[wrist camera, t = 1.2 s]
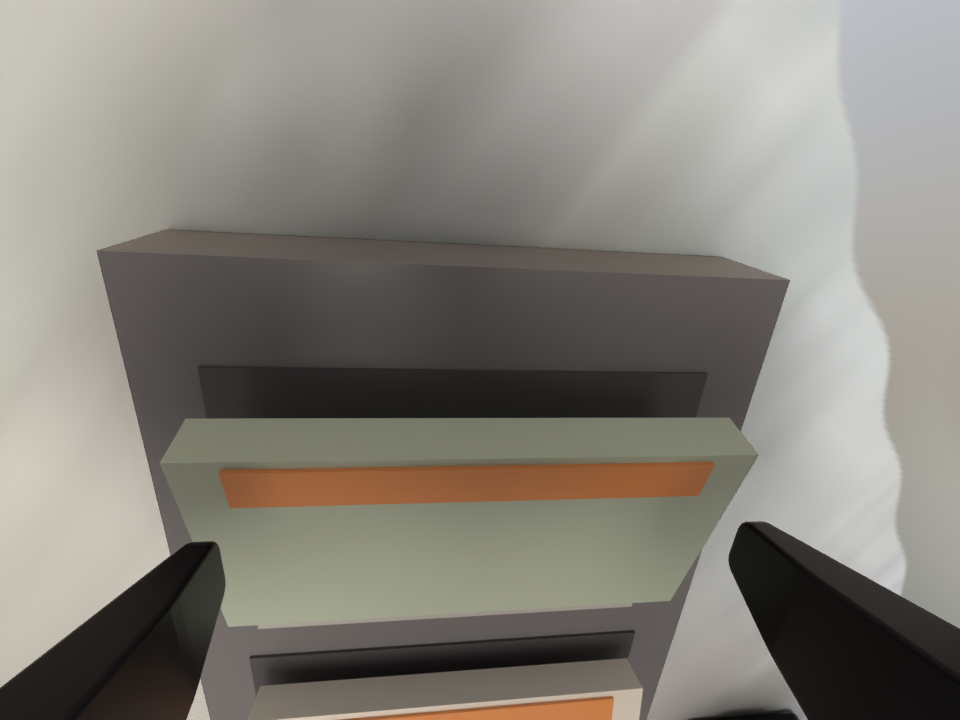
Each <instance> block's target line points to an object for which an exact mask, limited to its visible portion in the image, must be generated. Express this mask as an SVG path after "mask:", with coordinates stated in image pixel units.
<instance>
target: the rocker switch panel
mask: <svg viewBox="0 0 960 720" xmlns="http://www.w3.org/2000/svg"><path fill="white" fill-rule="evenodd" d="M97 254H98V258H99V262H100V267H101V271H102V275H103V279H104V283H105V287H106V291H107V295H108V300H109V304H110V308H111V312H112V316H113V320H114V324H115V328H116V332H117V337H118V341H119V345H120V349H121V353H122V357H123V361H124V365H125V370H126V374H127V378H128V382H129V386H130V390H131V394H132V398H133V402H134V407H135V411H136V415H137V419H138V423H139V427H140V431H141V435H142V440H143V444H144V448H145V452H146V456H147V460H148V464H149V468H150V472H151V477H152V481H153V485H154V489H155V493H156V497H157V501H158V505H159V510H160V514H161V518H162V522H163V526H164V530H165V534H166V538H167V542H168V547H169V551H170V555H172V554H173V553H175V552H176V551H177V550H178V549H180V548H181V547H182V546H184V545H185V544H187V543H190V542H192V539H191V537H190V534H189V532H188V530H187V527H186V525H185V523H184V520H183V518H182V515H181V513H180V511H179V508H178V506H177V504H176V501H175V499H174V496H173V494H172V492H171V489H170V487H169V484H168V482H167V480H166V477H165V475H164V473H163V470H162V468H161V465H160V462H161V460H162V458H163V456H164V455H165V453H166V451H167V450H168V448H169V446H170V445H171V443H172V441H173V439H174V438H175V436H176V434H177V433H178V431H179V429H180V427H181V426H182V424H183V422H184V421H185V419H238V418H730V419H731V420H732V421H733V423H734V424H735V425H736V427H737V428H738V429H739V430H740V431H741V428H742V425H743V422H744V419H745V416H746V413H747V410H748V407H749V404H750V401H751V398H752V395H753V392H754V388H755V385H756V382H757V379H758V376H759V373H760V370H761V367H762V364H763V361H764V358H765V355H766V352H767V349H768V346H769V343H770V340H771V336H772V333H773V330H774V327H775V324H776V321H777V318H778V315H779V312H780V309H781V306H782V303H783V300H784V297H785V294H786V291H787V288H788V285H789V281H790V280H788V279H785V278H782V277H779V276H776V275H773V274H770V273H767V272H764V271H762V270H759V269H756V268H753V267H750V266H747V265H744V264H741V263H738V262H735V261H732V260H729V259H726V258H723V257H715V256H695V255H675V254H654V253H634V252H613V251H593V250H572V249H552V248H532V247H511V246H491V245H470V244H450V243H430V242H409V241H389V240H368V239H348V238H328V237H307V236H287V235H266V234H246V233H225V232H205V231H185V230H163V231H159V232H156V233H153V234H150V235H146V236H143V237H140V238H137V239H133V240H130V241H127V242H123V243H120V244H117V245H114V246H110V247H107V248H104V249H100V250H97ZM701 550H702V549H701ZM700 554H701V551H700V553H699V554H698V556H697V558H696V559H695V561H694V562H693V564H692V566H691V567H690V569H689V571H688V572H687V574H686V576H685V577H684V579H683V581H682V582H681V584H680V586H679V587H678V589H677V591H676V592H675V594H674V595H673V597H672V599H671V600H670V601H660V602H643V603H626V604H609V605H592V606H575V607H558V608H541V609H524V610H507V611H490V612H473V613H456V614H439V615H422V616H405V617H388V618H372V619H355V620H338V621H321V622H304V623H287V624H270V625H253V626H236V627H228V625H227V622H226V620H225V618H224V615H223V613H222V611H221V608H220V611H219V615H218V618H217V622H216V625H215V628H214V632H213V635H212V639H211V642H210V646H209V649H208V653H207V656H206V660H205V663H204V667H203V670H202V674H201V677H200V678H201V682H202V687H203V691H204V695H205V699H206V703H207V707H208V711H209V715H210V719H211V720H248V718H249V715H250V713H251V710H252V707H253V704H254V702H255V699H256V696H257V693H258V691H259V688H260V686H267V685H280V684H293V683H306V682H319V681H333V680H346V679H359V678H372V677H385V676H398V675H412V674H425V673H438V672H451V671H464V670H478V669H491V668H504V667H517V666H530V665H544V664H557V663H570V662H583V661H596V660H609V659H623V658H627V659H628V661H629V663H630V665H631V667H632V669H633V670H634V672H635V674H636V676H637V678H638V680H639V682H640V683H641V685H642V687H643V693H642V701H641V709H640V717H639V720H646V719H647V716H648V712H649V709H650V706H651V703H652V700H653V697H654V694H655V691H656V688H657V685H658V682H659V679H660V676H661V673H662V670H663V667H664V664H665V660H666V657H667V654H668V651H669V648H670V645H671V642H672V639H673V636H674V633H675V630H676V627H677V624H678V621H679V618H680V615H681V612H682V609H683V605H684V602H685V599H686V596H687V593H688V590H689V587H690V584H691V581H692V578H693V575H694V572H695V569H696V566H697V563H698V560H699V557H700Z"/></svg>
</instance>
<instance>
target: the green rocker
mask: <svg viewBox="0 0 960 720" xmlns="http://www.w3.org/2000/svg"><path fill="white" fill-rule="evenodd" d="M757 457H758V453H757V452H756V451H755V450H754V448H753V447H752V446H751V444H750V443H749V442H748V441H747V439H746V438H745V437H744V435H743V434H742V433H741V432H740V430H739V429H738V428H737V427H736V425H735V424H734V423H733V421H732V420H731V419H730V418H238V419H185V421H184V422H183V424H182V426H181V427H180V429H179V431H178V433H177V434H176V436H175V438H174V439H173V441H172V443H171V445H170V446H169V448H168V450H167V451H166V453H165V455H164V456H163V458H162V460H161V462H160V465H161V468H162V470H163V473H164V475H165V477H166V480H167V482H168V484H169V487H170V489H171V492H172V494H173V496H174V499H175V501H176V504H177V506H178V508H179V511H180V513H181V515H182V518H183V520H184V523H185V525H186V527H187V530H188V532H189V534H190V537H191V539H192V542H203V541H214V542H216V543H217V544H218V545H219V548H220V553H221V558H222V563H223V569H224V574H225V580H226V586H225V593H224V597H223V601H222V604H221V611H222V613H223V615H224V618H225V620H226V622H227V625H228V627H236V626H253V625H270V624H287V623H304V622H321V621H338V620H355V619H372V618H388V617H405V616H422V615H439V614H456V613H473V612H490V611H507V610H524V609H541V608H558V607H575V606H592V605H609V604H626V603H643V602H660V601H670V600H671V599H672V597H673V595H674V594H675V592H676V591H677V589H678V587H679V586H680V584H681V582H682V581H683V579H684V577H685V576H686V574H687V572H688V571H689V569H690V567H691V566H692V564H693V562H694V561H695V559H696V558H697V556H698V554H699V553H700V551H701V549H702V548H703V546H704V544H705V543H706V541H707V539H708V538H709V536H710V534H711V533H712V531H713V529H714V528H715V526H716V525H717V523H718V521H719V520H720V518H721V516H722V515H723V513H724V511H725V510H726V508H727V506H728V505H729V503H730V501H731V500H732V498H733V496H734V495H735V493H736V492H737V490H738V488H739V487H740V485H741V483H742V482H743V480H744V478H745V477H746V475H747V473H748V472H749V470H750V468H751V467H752V465H753V463H754V462H755V460H756V459H757Z"/></svg>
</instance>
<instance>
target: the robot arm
mask: <svg viewBox="0 0 960 720" xmlns="http://www.w3.org/2000/svg"><path fill="white" fill-rule="evenodd" d="M729 566H730V569H731V572H732V574H733V576H734V578H735V580H736V583H737V585H738V587H739V589H740V591H741V593H742V595H743V597H744V600H745V602H746V604H747V606H748V608H749V610H750V612H751V614H752V617H753V619H754V621H755V623H756V625H757V627H758V629H759V631H760V634H761V636H762V638H763V640H764V642H765V644H766V646H767V648H768V650H769V652H770V654H771V656H772V658H773V659H774V661H775V663H776V665H777V667H778V669H779V670H780V672H781V674H782V675H783V677H784V679H785V681H786V682H787V684H788V686H789V688H790V689H791V691H792V693H793V694H794V696H795V698H796V700H797V701H798V703H799V705H800V707H801V708H802V710H803V712H804V714H805V715H806V717H807V719H808V720H960V629H959V628H957V627H955V626H954V625H952V624H950V623H948V622H946V621H944V620H943V619H941V618H939V617H937V616H936V615H934V614H932V613H930V612H928V611H926V610H925V609H923V608H921V607H919V606H917V605H916V604H914V603H912V602H910V601H908V600H906V599H905V598H903V597H901V596H899V595H897V594H896V593H894V592H892V591H890V590H888V589H887V588H885V587H883V586H881V585H879V584H878V583H876V582H874V581H872V580H870V579H869V578H867V577H865V576H863V575H861V574H859V573H858V572H856V571H854V570H852V569H850V568H849V567H847V566H845V565H843V564H841V563H840V562H838V561H836V560H834V559H832V558H830V557H829V556H827V555H825V554H823V553H821V552H820V551H818V550H816V549H814V548H812V547H811V546H809V545H807V544H805V543H803V542H802V541H800V540H798V539H796V538H794V537H792V536H791V535H789V534H787V533H785V532H783V531H782V530H780V529H778V528H776V527H774V526H773V525H771V524H769V523H766V522H761V521H760V522H744V523H742V524H741V525H740V526H739V528H738V531H737V533H736V536H735V539H734V542H733V545H732V547H731V550H730V553H729ZM225 586H226V580H225V574H224V569H223V563H222V558H221V553H220V548H219V545H218V544H217V543H216V542H214V541H203V542H190V543H187V544H185V545H184V546H182V547H181V548H180V549H178V550H177V551H176V552H175V553H173V554H172V555H171V556H169V557H168V558H167V559H166V560H164V561H163V562H162V563H160V564H159V565H158V566H156V567H155V568H154V569H153V570H151V571H150V572H149V573H147V574H146V575H145V576H144V577H142V578H141V579H140V580H138V581H137V582H136V583H135V584H133V585H132V586H131V587H129V588H128V589H127V590H126V591H124V592H123V593H122V594H120V595H119V596H118V597H117V598H115V599H114V600H113V601H111V602H110V603H109V604H108V605H106V606H105V607H104V608H102V609H101V610H100V611H99V612H97V613H96V614H95V615H93V616H92V617H91V618H89V619H88V620H87V621H86V622H84V623H83V624H82V625H80V626H79V627H78V628H77V629H75V630H74V631H73V632H71V633H70V634H69V635H68V636H66V637H65V638H64V639H62V640H61V641H60V642H59V643H57V644H56V645H55V646H53V647H52V648H51V649H50V650H48V651H47V652H46V653H44V654H43V655H42V656H41V657H39V658H38V659H37V660H35V661H34V662H33V663H32V664H30V665H29V666H28V667H26V668H25V669H24V670H23V671H21V672H20V673H19V674H17V675H16V676H15V677H13V678H12V679H11V680H10V681H8V682H7V683H6V684H4V685H3V686H2V687H1V688H0V720H186V719H187V716H188V714H189V711H190V708H191V705H192V703H193V700H194V697H195V694H196V690H197V687H198V684H199V681H200V677H201V674H202V670H203V667H204V663H205V660H206V656H207V653H208V649H209V646H210V642H211V639H212V635H213V632H214V628H215V625H216V622H217V618H218V615H219V611H220V608H221V604H222V601H223V597H224V593H225ZM727 720H799V719H798V717H797V716H796V714H794V713H788V714H778V715H768V716H758V717H748V718H737V719H727Z"/></svg>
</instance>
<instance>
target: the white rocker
mask: <svg viewBox="0 0 960 720" xmlns="http://www.w3.org/2000/svg"><path fill="white" fill-rule="evenodd" d="M642 693H643V687H642V685H641V683H640V682H639V680H638V678H637V676H636V674H635V672H634V670H633V669H632V667H631V665H630V663H629V661H628V659H627V658H623V659H609V660H596V661H583V662H570V663H557V664H544V665H530V666H517V667H504V668H491V669H478V670H464V671H451V672H438V673H425V674H412V675H398V676H385V677H372V678H359V679H346V680H333V681H319V682H306V683H293V684H280V685H267V686H260V688H259V691H258V693H257V696H256V699H255V702H254V704H253V707H252V710H251V713H250V715H249V718H248V720H639V717H640V709H641V701H642Z"/></svg>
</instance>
